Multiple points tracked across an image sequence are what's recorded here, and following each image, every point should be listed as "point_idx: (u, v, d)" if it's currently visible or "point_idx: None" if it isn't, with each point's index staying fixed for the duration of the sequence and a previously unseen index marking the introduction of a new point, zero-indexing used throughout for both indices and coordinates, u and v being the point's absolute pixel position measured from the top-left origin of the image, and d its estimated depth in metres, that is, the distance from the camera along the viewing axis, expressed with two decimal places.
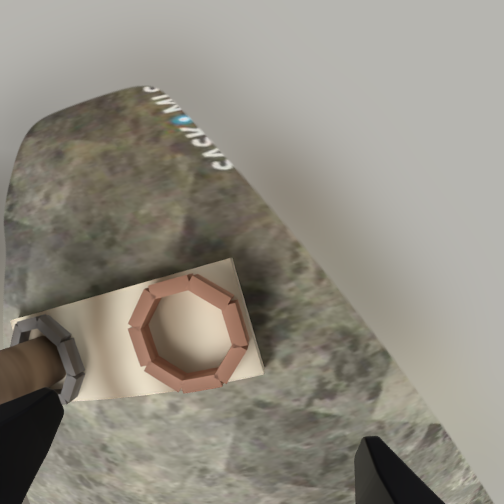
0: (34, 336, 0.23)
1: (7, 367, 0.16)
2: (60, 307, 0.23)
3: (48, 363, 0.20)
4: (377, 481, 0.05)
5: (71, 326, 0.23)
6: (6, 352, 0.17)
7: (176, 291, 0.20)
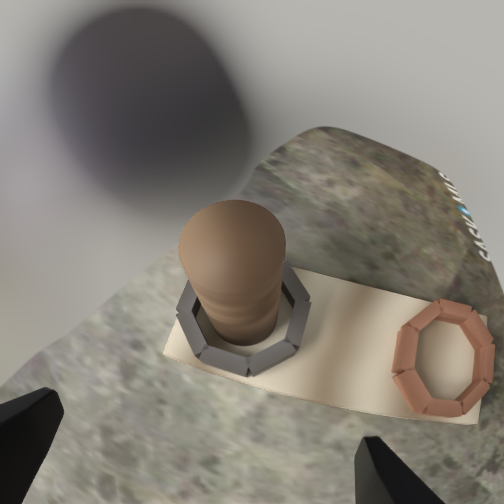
0: None
1: None
2: (310, 272, 0.22)
3: (278, 309, 0.18)
4: (377, 481, 0.05)
5: (313, 297, 0.21)
6: None
7: (461, 314, 0.18)
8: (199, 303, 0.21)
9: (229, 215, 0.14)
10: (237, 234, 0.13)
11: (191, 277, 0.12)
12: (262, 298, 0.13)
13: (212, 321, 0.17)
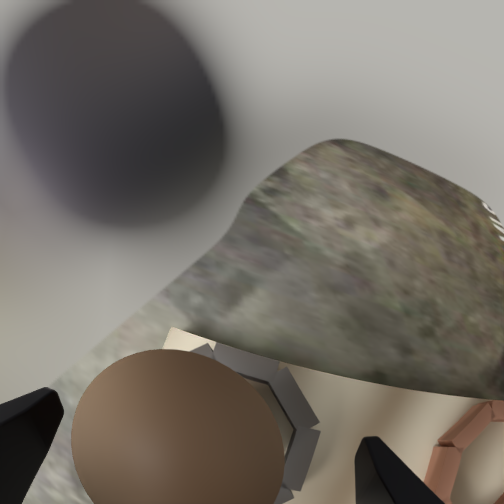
0: None
1: None
2: (320, 373, 0.14)
3: None
4: (377, 481, 0.05)
5: (323, 411, 0.13)
6: None
7: None
8: None
9: (163, 390, 0.06)
10: (180, 440, 0.05)
11: None
12: None
13: None
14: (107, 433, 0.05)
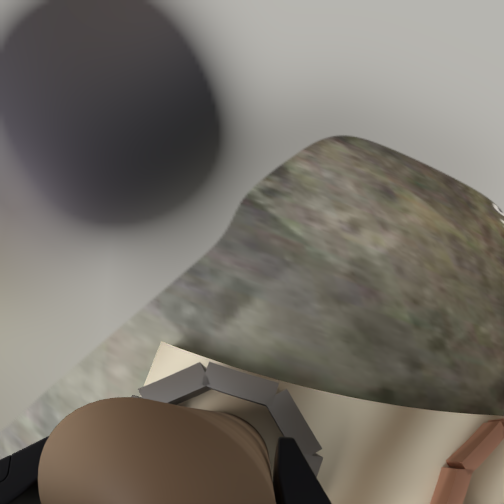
0: (209, 405, 0.12)
1: (271, 481, 0.05)
2: (323, 393, 0.13)
3: None
4: (278, 484, 0.05)
5: (326, 433, 0.12)
6: (244, 431, 0.07)
7: None
8: None
9: (133, 445, 0.04)
10: (154, 502, 0.04)
11: None
12: None
13: None
14: (74, 486, 0.04)
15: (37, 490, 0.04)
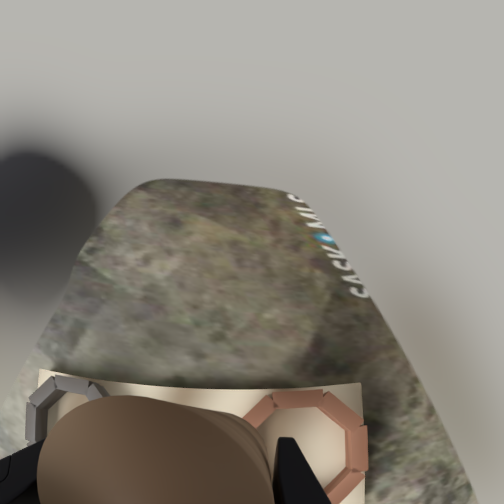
0: (68, 401, 0.17)
1: None
2: (125, 384, 0.18)
3: None
4: (278, 484, 0.05)
5: None
6: (243, 429, 0.07)
7: (306, 404, 0.16)
8: (43, 429, 0.16)
9: (131, 443, 0.04)
10: (153, 500, 0.04)
11: None
12: None
13: None
14: (73, 484, 0.04)
15: (37, 490, 0.04)
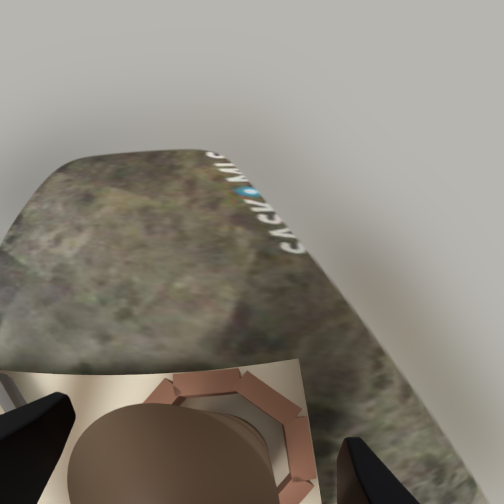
0: None
1: None
2: (29, 374, 0.14)
3: None
4: (356, 483, 0.05)
5: None
6: (248, 430, 0.08)
7: (217, 390, 0.12)
8: None
9: (156, 444, 0.05)
10: (175, 492, 0.04)
11: None
12: None
13: None
14: (102, 482, 0.04)
15: None
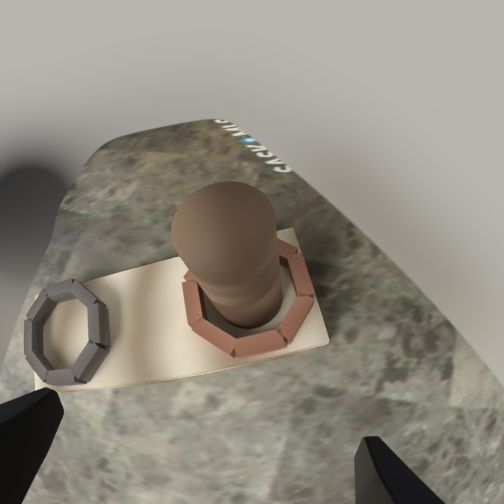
0: (58, 311, 0.22)
1: None
2: (102, 278, 0.23)
3: (281, 286, 0.18)
4: (377, 481, 0.05)
5: (109, 297, 0.22)
6: None
7: None
8: (39, 342, 0.20)
9: (217, 197, 0.14)
10: (227, 214, 0.13)
11: (186, 261, 0.12)
12: (260, 274, 0.13)
13: (216, 306, 0.17)
14: (191, 222, 0.13)
15: None
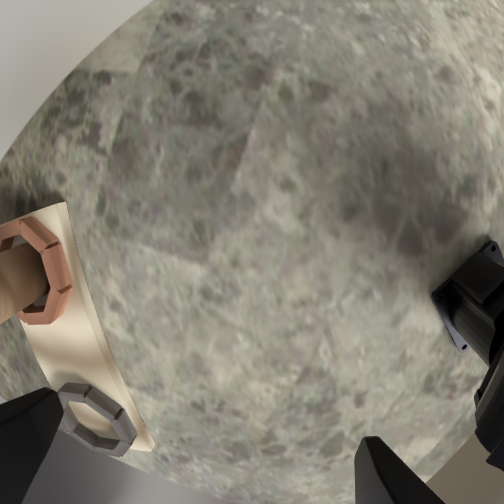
0: (83, 422, 0.24)
1: None
2: (50, 384, 0.23)
3: (11, 250, 0.17)
4: (377, 481, 0.05)
5: (59, 380, 0.23)
6: None
7: None
8: (110, 441, 0.24)
9: None
10: None
11: None
12: None
13: (23, 305, 0.17)
14: None
15: None
